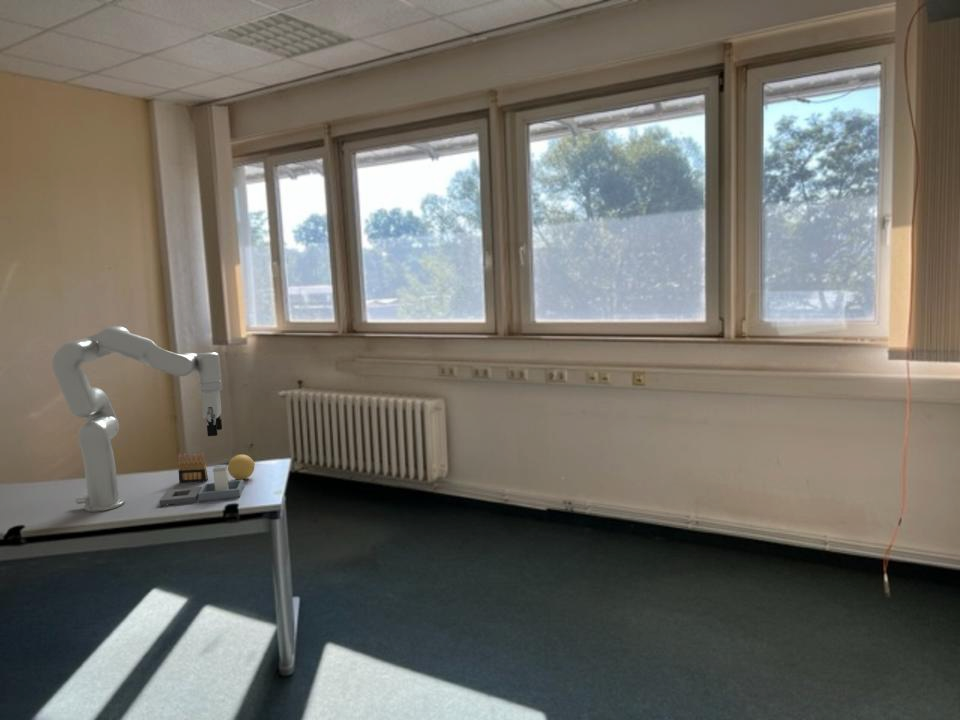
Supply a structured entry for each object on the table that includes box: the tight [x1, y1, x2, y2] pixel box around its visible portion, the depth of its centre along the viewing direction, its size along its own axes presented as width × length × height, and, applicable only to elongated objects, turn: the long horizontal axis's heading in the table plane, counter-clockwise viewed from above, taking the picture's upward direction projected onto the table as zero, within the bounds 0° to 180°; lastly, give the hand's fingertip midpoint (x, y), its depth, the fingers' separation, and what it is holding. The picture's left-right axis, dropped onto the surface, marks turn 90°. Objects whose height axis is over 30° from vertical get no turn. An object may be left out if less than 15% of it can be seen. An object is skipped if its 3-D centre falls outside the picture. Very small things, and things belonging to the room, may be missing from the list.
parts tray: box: [198, 479, 245, 503], centre depth 241 cm, size 14×12×3 cm
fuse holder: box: [158, 486, 203, 506], centre depth 238 cm, size 12×12×2 cm
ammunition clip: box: [177, 451, 209, 484], centre depth 258 cm, size 11×2×12 cm, turn 91°
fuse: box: [212, 464, 229, 491], centre depth 241 cm, size 4×4×10 cm
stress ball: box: [227, 454, 255, 480], centre depth 258 cm, size 10×10×10 cm
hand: (215, 432), depth 239 cm, fingers open, 9 cm apart
